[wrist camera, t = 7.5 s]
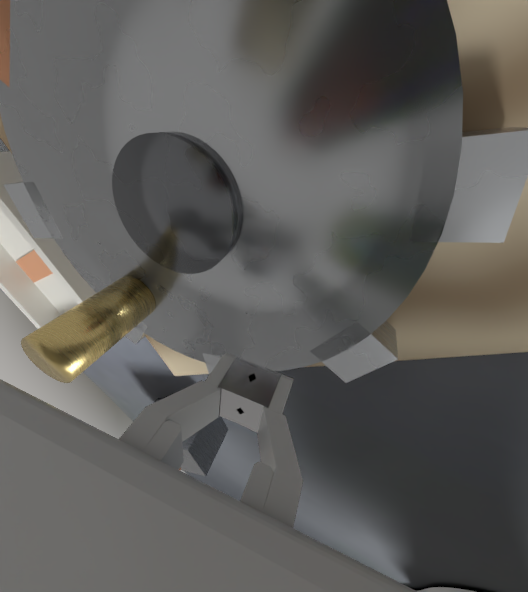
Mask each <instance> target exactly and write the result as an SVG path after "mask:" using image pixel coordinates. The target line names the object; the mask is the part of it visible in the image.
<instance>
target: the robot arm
mask: <svg viewBox="0 0 528 592" xmlns="http://www.w3.org/2000/svg"><path fill="white" fill-rule="evenodd" d="M293 380H294V379H293V378H290V377H288V376H285V375H283V374H281V373H278V372H275V371H273V370H270V369H267V368H265V367H262V366H258V365H256V364H253V363H251V362H249V361H246V360H244V359H241V358H239V357H237V356H234V355H232V354H229V353H227V352H226V353H225V354H224V355H223V356H222V357H221V359H220V360H219V362H218V363H217V365H216V366H215V367H214V369H213V370H212V372H211V373H210V375H209V376H208V378H207V379H206V381H205V382H204V381H202V380H201V381H199V382H197V383H195V384H193V385H191V386H189V387H187V388H185V389H183V390H180V391H178V392H176V393H174V394H172V395H170V396H168V397H166V398H164V399H161V400H159V401H157V402H155V403H153V404H151V405H149V406H147V407H145V408H144V409H143V411H142V412H141V413H140V414H139V415H138V417H137V418H136V419H135V420H134V421H133V423H132V424H131V425H130V427H129V428H128V429H127V430H126V431H125V432H124V434H123V435H122V436H121V437H120V438H119V439H117V438H115V437H113V436H111V435H109V434H107V433H105V432H103V431H101V430H99V429H97V428H95V427H93V426H91V425H89V424H87V423H85V422H83V421H81V420H79V419H77V418H75V417H73V416H71V415H69V414H67V413H65V412H64V411H62V410H59V409H58V408H56V407H54V406H52V405H50V404H48V403H46V402H44V401H41V400H40V399H38V398H36V397H34V396H32V395H30V394H28V393H26V392H24V391H22V390H20V389H18V388H16V387H14V386H12V385H10V384H8V383H6V382H4V381H3V380H1V379H0V592H475V591H470V590H464V589H458V588H448V587H432V588H427V589H423V590H419V591H415V590H413V589H411V588H409V587H407V586H405V585H403V584H401V583H399V582H397V581H396V580H394V579H392V578H390V577H388V576H386V575H384V574H382V573H380V572H378V571H376V570H374V569H372V568H370V567H368V566H366V565H364V564H362V563H360V562H358V561H356V560H354V559H352V558H350V557H348V556H346V555H344V554H343V553H341V552H339V551H337V550H335V549H333V548H331V547H329V546H327V545H325V544H323V543H321V542H319V541H317V540H315V539H313V538H311V537H309V536H307V535H305V534H303V533H301V532H299V531H297V530H295V529H293V526H294V522H295V517H296V512H297V508H298V503H299V498H300V494H301V489H302V484H303V479H302V475H301V471H300V468H299V464H298V460H297V456H296V453H295V449H294V445H293V441H292V438H291V434H290V430H289V426H288V423H287V419H286V416H285V415H283V411H284V408H285V405H286V402H287V399H288V396H289V393H290V390H291V387H292V383H293ZM219 416H221V417H223V418H226V419H228V420H230V421H233V422H235V423H238V424H240V425H242V426H244V427H246V428H248V429H250V430H252V431H254V432H257V435H258V443H259V451H260V459H261V462H258V463H256V464H254V467H253V469H252V472H251V474H250V477H249V480H248V482H247V485H246V487H245V490H244V493H243V495H242V498H241V500H240V501H238V500H236V499H234V498H233V497H231V496H229V495H227V494H225V493H223V492H221V491H219V490H217V489H215V488H213V487H211V486H209V485H207V484H205V483H203V482H201V481H199V480H197V479H195V478H193V477H191V476H189V475H187V474H185V473H183V472H181V471H179V468H180V467H181V465H182V463H183V461H184V460H183V446H182V442H183V441H184V440H186V439H187V438H189V437H190V436H192V435H193V434H195V433H196V432H198V431H199V430H200V429H202V428H203V427H205V426H206V425H208V424H209V423H211V422H212V421H214V420H215V419H217V418H218V417H219Z"/></svg>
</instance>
